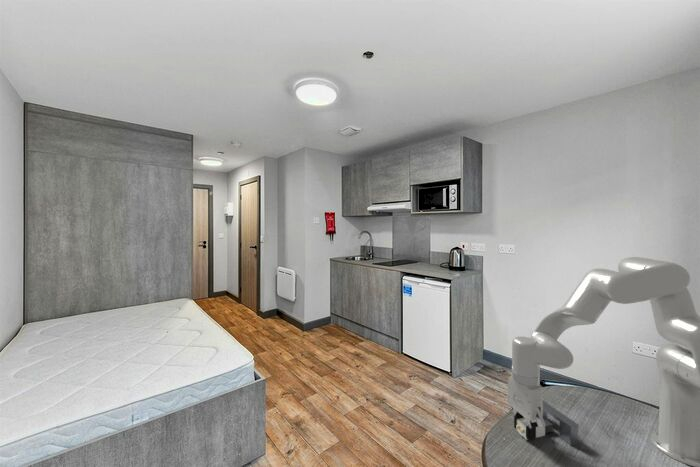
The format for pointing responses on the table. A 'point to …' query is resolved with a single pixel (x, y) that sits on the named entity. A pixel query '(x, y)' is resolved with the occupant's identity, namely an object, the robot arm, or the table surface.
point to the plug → (539, 430)
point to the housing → (563, 424)
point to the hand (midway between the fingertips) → (524, 432)
